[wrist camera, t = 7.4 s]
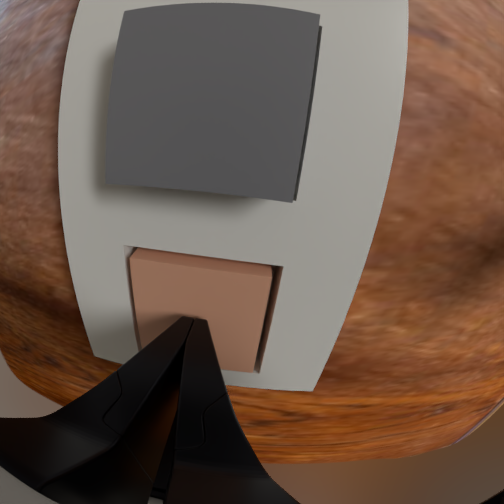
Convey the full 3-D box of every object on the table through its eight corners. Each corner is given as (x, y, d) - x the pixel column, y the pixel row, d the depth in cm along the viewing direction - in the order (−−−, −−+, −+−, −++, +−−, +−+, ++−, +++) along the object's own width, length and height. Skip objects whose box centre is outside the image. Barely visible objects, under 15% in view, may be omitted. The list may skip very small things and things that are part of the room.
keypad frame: (306, 350, 13) (312, 391, 11) (114, 321, 13) (94, 356, 11) (376, -66, 4) (396, -92, 2) (151, -81, 4) (133, -107, 1)
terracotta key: (254, 338, 12) (252, 372, 10) (156, 323, 12) (143, 354, 10) (270, 248, 10) (271, 277, 8) (151, 233, 10) (129, 257, 8)
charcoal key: (285, 184, 8) (292, 202, 6) (138, 169, 8) (105, 183, 6) (306, 39, 6) (320, 14, 4) (153, 31, 6) (124, 11, 4)
